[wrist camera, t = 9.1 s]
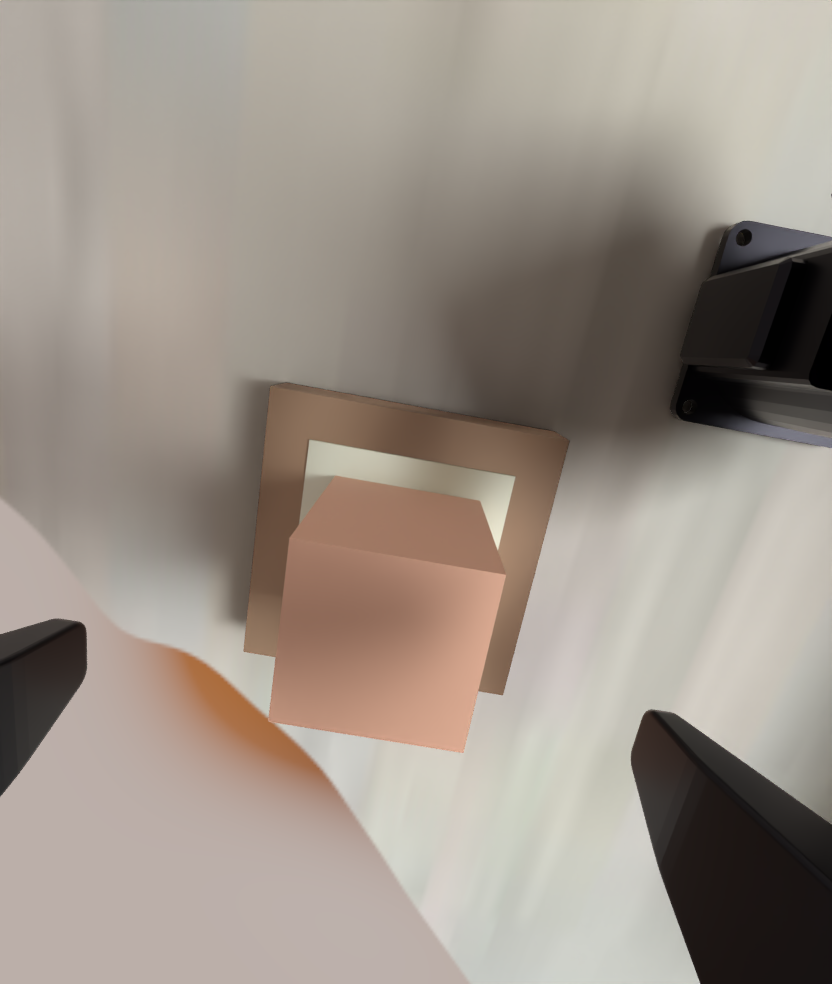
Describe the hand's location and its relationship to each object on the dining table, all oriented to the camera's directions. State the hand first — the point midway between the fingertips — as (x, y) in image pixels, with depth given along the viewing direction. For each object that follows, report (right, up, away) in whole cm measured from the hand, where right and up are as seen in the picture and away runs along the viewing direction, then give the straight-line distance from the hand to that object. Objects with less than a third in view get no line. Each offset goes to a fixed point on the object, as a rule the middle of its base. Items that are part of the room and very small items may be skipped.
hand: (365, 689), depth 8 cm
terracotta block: (0, +1, +10) cm, 10 cm away
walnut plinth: (0, +1, +12) cm, 12 cm away
